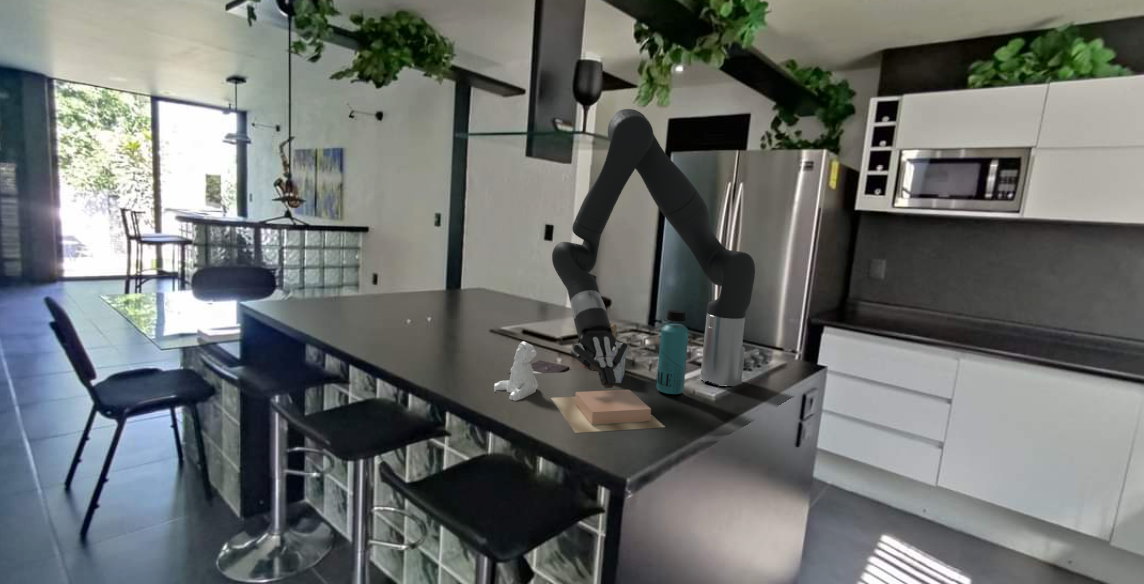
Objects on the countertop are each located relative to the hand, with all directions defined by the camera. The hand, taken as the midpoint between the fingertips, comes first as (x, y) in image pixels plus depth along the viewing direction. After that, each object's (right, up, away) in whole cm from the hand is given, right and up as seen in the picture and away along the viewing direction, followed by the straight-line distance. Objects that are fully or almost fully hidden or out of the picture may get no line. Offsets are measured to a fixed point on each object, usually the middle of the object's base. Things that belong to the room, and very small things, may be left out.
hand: (609, 386), depth 109 cm
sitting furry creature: (-19, -3, +8) cm, 21 cm away
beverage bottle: (+14, -5, +13) cm, 20 cm away
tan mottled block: (+2, 0, +41) cm, 41 cm away
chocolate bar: (-17, -2, +23) cm, 28 cm away
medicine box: (+2, -3, +22) cm, 22 cm away
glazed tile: (-1, -3, +3) cm, 4 cm away
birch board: (-1, -6, -1) cm, 6 cm away
